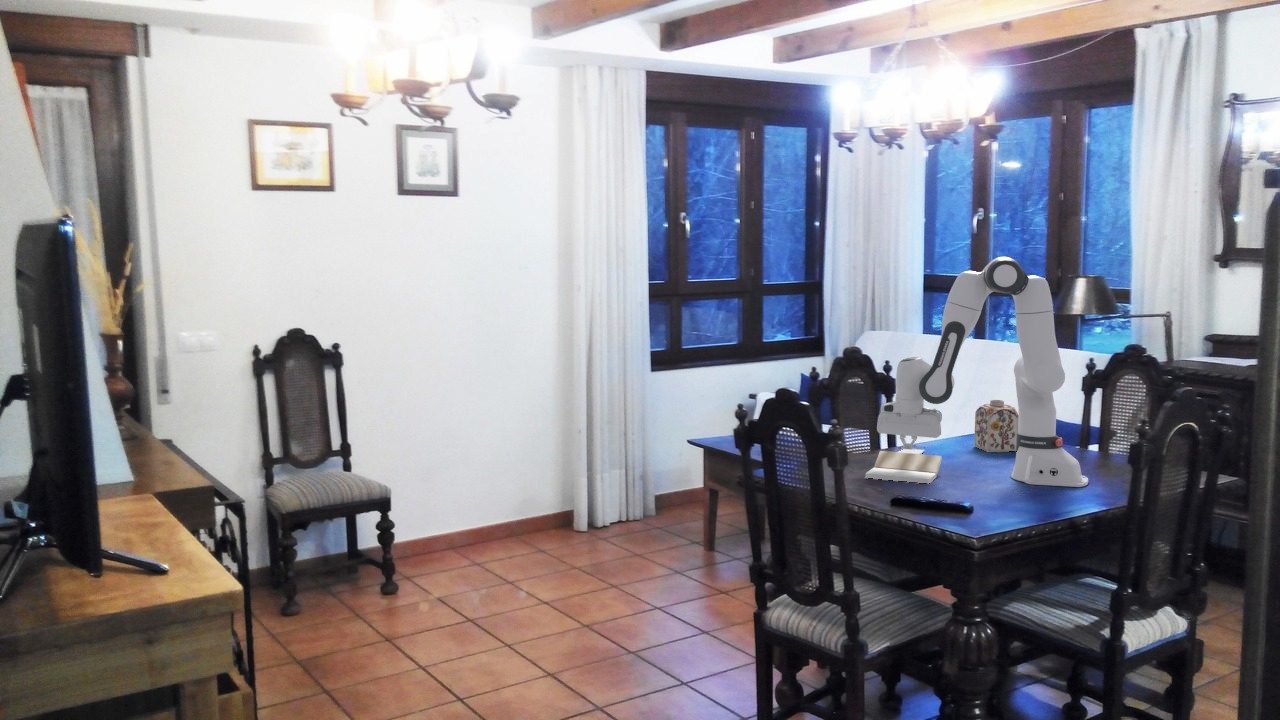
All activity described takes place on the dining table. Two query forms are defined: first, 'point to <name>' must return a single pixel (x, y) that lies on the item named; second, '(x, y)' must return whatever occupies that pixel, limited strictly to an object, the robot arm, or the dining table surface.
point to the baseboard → (912, 451)
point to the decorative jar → (996, 427)
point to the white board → (900, 475)
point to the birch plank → (908, 462)
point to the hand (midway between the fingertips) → (908, 449)
